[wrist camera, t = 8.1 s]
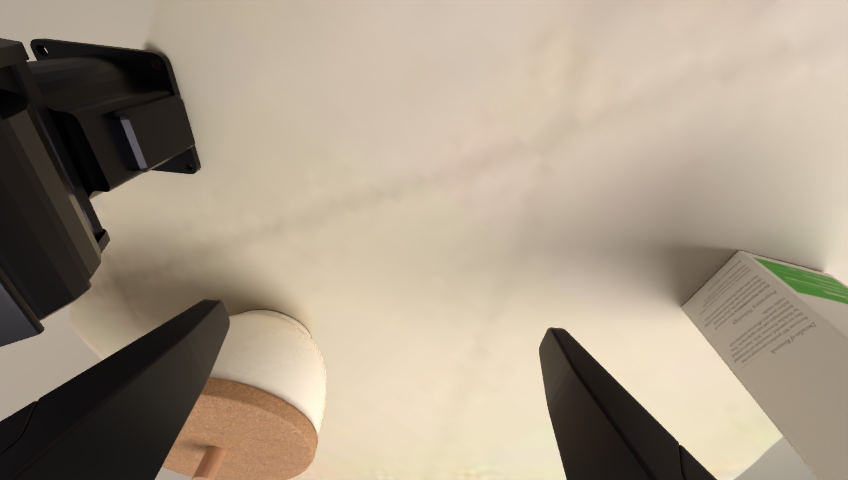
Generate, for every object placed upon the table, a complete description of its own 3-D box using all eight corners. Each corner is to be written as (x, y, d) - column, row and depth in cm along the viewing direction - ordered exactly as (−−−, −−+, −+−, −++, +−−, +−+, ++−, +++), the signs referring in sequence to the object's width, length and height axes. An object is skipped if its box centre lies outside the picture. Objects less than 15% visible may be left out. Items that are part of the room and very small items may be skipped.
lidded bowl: (203, 263, 25) (71, 407, 16) (361, 314, 28) (327, 461, 19) (193, 357, 31) (96, 497, 22) (322, 390, 34) (283, 527, 25)
